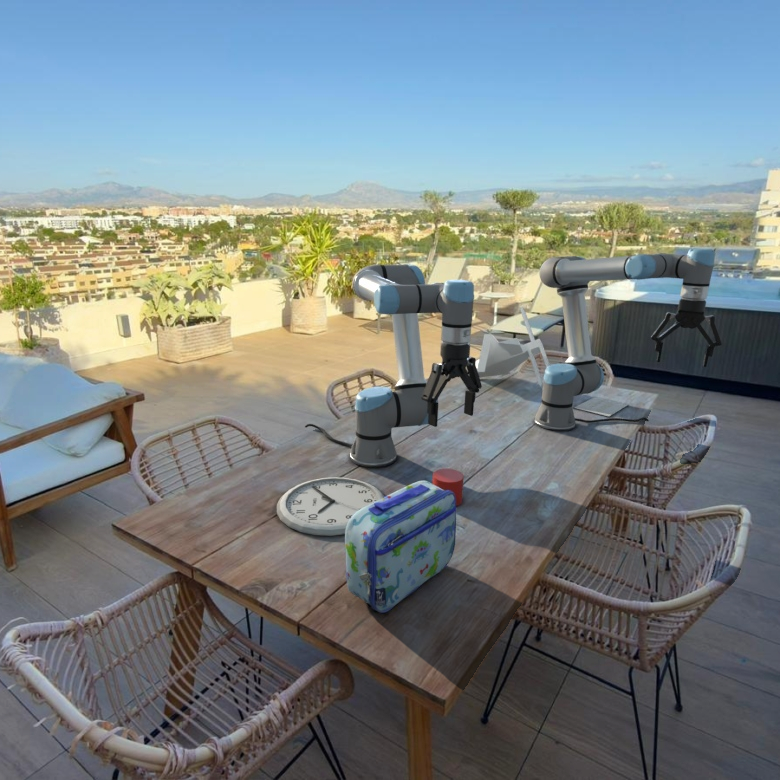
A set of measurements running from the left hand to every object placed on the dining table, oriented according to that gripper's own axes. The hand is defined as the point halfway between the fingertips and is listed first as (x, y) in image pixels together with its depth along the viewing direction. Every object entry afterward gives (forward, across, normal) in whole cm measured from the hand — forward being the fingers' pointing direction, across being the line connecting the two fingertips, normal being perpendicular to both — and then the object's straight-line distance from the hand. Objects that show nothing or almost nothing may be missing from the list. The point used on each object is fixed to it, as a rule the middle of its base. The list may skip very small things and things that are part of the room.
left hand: (451, 419), depth 140 cm
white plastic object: (+25, +104, +62) cm, 123 cm away
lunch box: (+24, -34, -20) cm, 46 cm away
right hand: (-7, +85, -22) cm, 88 cm away
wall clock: (+24, -28, +16) cm, 40 cm away
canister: (+24, 0, 0) cm, 24 cm away
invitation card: (+24, +110, +16) cm, 114 cm away
